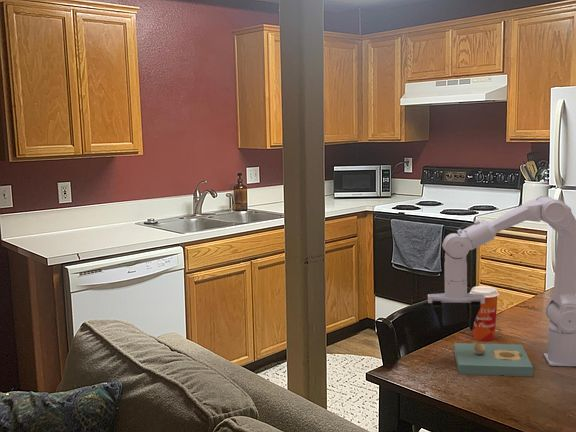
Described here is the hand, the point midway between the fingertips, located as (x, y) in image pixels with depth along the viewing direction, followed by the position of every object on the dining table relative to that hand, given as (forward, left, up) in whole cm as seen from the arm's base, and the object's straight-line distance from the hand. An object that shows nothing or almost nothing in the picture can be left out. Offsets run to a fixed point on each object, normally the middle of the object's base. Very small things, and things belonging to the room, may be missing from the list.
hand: (456, 328), depth 165 cm
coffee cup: (-10, -20, -10) cm, 24 cm away
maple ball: (-6, 0, -5) cm, 8 cm away
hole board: (-9, 0, -9) cm, 13 cm away
